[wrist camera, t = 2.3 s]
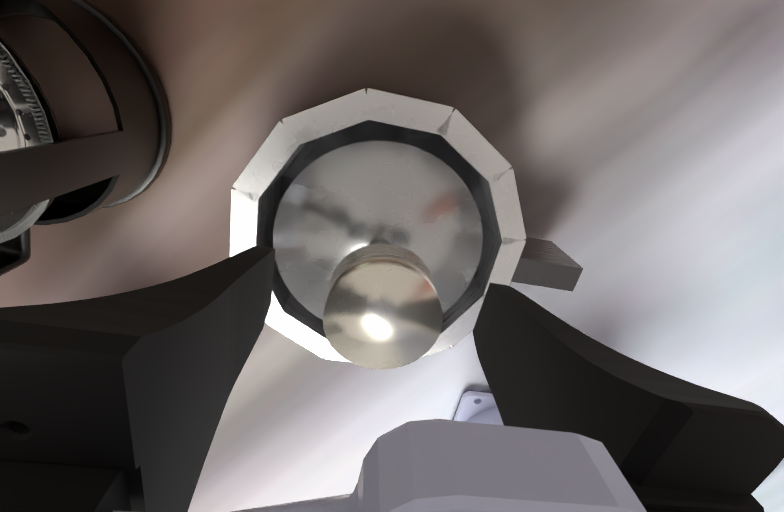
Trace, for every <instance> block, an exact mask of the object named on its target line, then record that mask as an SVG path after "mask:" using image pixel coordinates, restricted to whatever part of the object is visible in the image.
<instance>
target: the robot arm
mask: <svg viewBox="0 0 784 512" xmlns="http://www.w3.org/2000/svg"><path fill="white" fill-rule="evenodd" d="M274 261H275V249H274V248H267V247H261V246H253V247H251V248H248V249H246V250H244V251H242V252H240V253H238V254H236V255H234V256H231V257H229V258H227V259H225V260H223V261H221V262H218V263H216V264H214V265H212V266H209V267H207V268H204V269H202V270H199V271H197V272H194V273H192V274H189V275H187V276H184V277H181V278H178V279H175V280H172V281H169V282H165V283H162V284H158V285H155V286H151V287H147V288H143V289H138V290H134V291H129V292H124V293H120V294H115V295H110V296H104V297H98V298H92V299H85V300H78V301H70V302H62V303H53V304H42V305H29V306H16V307H4V308H0V512H187V511H188V508H189V505H190V502H191V499H192V497H193V494H194V491H195V488H196V485H197V482H198V479H199V476H200V473H201V470H202V468H203V465H204V462H205V459H206V456H207V453H208V451H209V448H210V445H211V442H212V440H213V437H214V434H215V431H216V429H217V426H218V423H219V421H220V418H221V415H222V413H223V410H224V407H225V405H226V402H227V400H228V397H229V395H230V393H231V390H232V388H233V386H234V384H235V382H236V380H237V378H238V376H239V374H240V372H241V370H242V368H243V366H244V364H245V362H246V360H247V358H248V357H249V355H250V353H251V351H252V349H253V347H254V345H255V343H256V341H257V339H258V337H259V335H260V333H261V331H262V329H263V326H264V323H265V320H266V318H267V315H268V311H269V308H270V305H271V299H272V287H273V274H274ZM473 336H474V341H475V346H476V350H477V354H478V358H479V360H480V363H481V366H482V369H483V371H484V374H485V377H486V379H487V382H488V384H489V387H490V389H491V392H492V393H483V392H475V391H468V392H465V393H464V394H463V396H462V398H461V401H460V404H459V406H458V409H457V412H456V414H455V417H454V420H444V419H433V420H422V421H410V422H407V423H405V424H403V425H401V426H399V427H397V428H395V429H393V430H391V431H389V432H387V433H385V434H383V435H382V436H380V437H378V438H377V440H376V441H375V443H374V444H373V446H372V447H371V449H370V450H369V452H368V453H367V455H366V456H365V458H364V460H363V464H362V468H361V472H360V475H359V479H358V483H357V485H356V487H355V490H354V492H353V493H352V494H346V495H339V496H332V497H326V498H319V499H312V500H306V501H299V502H292V503H286V504H279V505H272V506H266V507H259V508H252V509H246V510H239V511H232V512H764V509H763V507H762V506H761V505H760V503H759V502H758V501H757V500H756V499H755V498H754V497H753V496H752V495H751V493H752V492H753V491H754V490H755V489H756V488H757V487H758V486H759V485H760V484H761V483H762V482H763V481H764V480H765V479H766V478H767V477H768V475H769V474H770V473H771V472H772V471H773V470H774V469H775V468H776V467H777V466H778V464H779V463H780V462H781V460H782V459H783V458H784V425H783V424H781V423H780V422H779V421H778V420H777V419H775V418H774V417H773V416H772V415H771V414H769V413H768V412H767V411H766V410H765V409H763V408H762V407H760V406H758V405H756V404H754V403H752V402H749V401H746V400H742V399H739V398H736V397H733V396H730V395H727V394H723V393H720V392H717V391H714V390H711V389H707V388H704V387H701V386H698V385H696V384H693V383H690V382H688V381H685V380H682V379H679V378H677V377H674V376H671V375H669V374H666V373H664V372H661V371H659V370H656V369H654V368H652V367H649V366H647V365H645V364H643V363H640V362H638V361H636V360H634V359H631V358H629V357H627V356H625V355H623V354H621V353H619V352H617V351H615V350H613V349H611V348H609V347H607V346H605V345H603V344H601V343H599V342H598V341H596V340H594V339H592V338H590V337H589V336H587V335H585V334H583V333H582V332H580V331H578V330H577V329H575V328H574V327H572V326H570V325H569V324H567V323H565V322H564V321H562V320H561V319H559V318H558V317H556V316H555V315H553V314H552V313H550V312H549V311H547V310H546V309H544V308H543V307H541V306H540V305H538V304H537V303H535V302H534V301H532V300H531V299H530V298H528V297H527V296H525V295H523V294H522V293H520V292H519V291H517V290H515V289H514V288H512V287H510V286H508V285H503V284H496V283H490V284H489V287H488V289H487V292H486V295H485V298H484V301H483V303H482V306H481V309H480V312H479V315H478V317H477V320H476V323H475V326H474V329H473ZM478 398H479V399H478ZM475 399H477V400H475Z"/></svg>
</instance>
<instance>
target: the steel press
mask: <svg viewBox="0 0 784 512" xmlns="http://www.w3.org/2000/svg"><path fill="white" fill-rule="evenodd" d="M368 139H388V140H395V141H401V142H405V143H409V144H412V145H415V146H418V147H420V148H422V149H424V150H427V151H429V152H430V153H432V154H434V155H435V156H437V157H438V158H440V159H441V160H442V161H444V162H445V163H446V164H447V165H448V166H450V167H451V168H452V169H453V170H454V171H455V172H456V174H457V175H458V176H459V177H460V178H461V179H462V180H463V181H464V183H465V184H466V186H467V187H468V189H469V190H470V192H471V194H472V196H473V198H474V200H475V202H476V204H477V207H478V211H479V214H480V217H481V223H482V234H483V243H482V251H481V256H480V260H479V264H478V267H477V269H476V272H475V274H474V277H473V279H472V280H471V282H470V284H469V286H468V287H467V289H466V290H465V291H464V293H463V294H462V295H461V297H460V298H459V299H458V300H457V301H456V302H455V303H454V304H453V305H452V306H451V307H450V308H448V309H447V310H446V311H445V312H444V313H443V324H442V329H441V332H440V335H439V337H438V339H437V341H436V342H435V344H434V345H433V346H432V348H431V349H430V350H429V351H428V352H427V353H426V354H424V355H423V356H426V355H430V354H433V353H436V352H440V351H443V350H446V349H450V348H451V346H452V347H454V346H455V345H456V344H457V343H458V342H459V341H461V340H462V339H463V338H464V337H465V336H466V335H467V334H469V333H470V332H471V331H472V330H473V329H474V326H475V323H476V320H477V317H478V315H479V312H480V309H481V306H482V303H483V301H484V298H485V295H486V292H487V289H488V287H489V284H490V283H496V284H503V285H508V286H509V285H510V282H511V281H512V282H518V283H525V284H531V285H537V286H543V287H550V288H556V289H562V290H568V291H573V289H574V287H575V285H576V283H577V281H578V279H579V276H580V274H581V272H582V270H583V268H582V267H581V266H580V265H578V264H577V263H576V262H575V261H574V260H573V259H571V258H570V257H569V256H568V255H567V254H566V253H564V252H563V251H562V250H561V249H560V248H559V247H558V246H556V245H555V244H554V243H553V242H552V241H546V240H541V239H535V238H530V237H526V234H525V229H524V223H523V218H522V213H521V207H520V202H519V197H518V192H517V186H516V181H515V176H514V170H513V168H511V165H510V164H509V163H508V162H507V161H506V159H505V158H504V157H503V156H502V155H501V154H500V153H499V152H498V151H497V150H496V149H495V148H494V147H493V146H492V145H491V144H490V143H489V142H488V141H487V140H486V139H485V138H484V137H483V136H482V135H481V134H480V133H479V132H478V131H477V130H476V129H475V128H474V127H473V126H472V125H471V124H470V123H469V122H468V121H467V119H466V118H465V117H464V116H463V115H462V114H461V113H460V112H459V111H458V110H457V109H455V108H453V107H451V106H447V105H443V104H439V103H436V102H431V101H427V100H422V99H418V98H413V97H409V96H404V95H400V94H395V93H391V92H386V91H382V90H377V89H373V88H368V89H367V90H366V88H364V89H361V90H358V91H356V92H353V93H350V94H347V95H345V96H342V97H339V98H337V99H334V100H331V101H329V102H326V103H323V104H321V105H318V106H315V107H312V108H310V109H307V110H304V111H302V112H299V113H296V114H294V115H291V116H289V117H286V118H283V119H282V120H281V121H279V122H278V124H277V125H276V126H275V128H274V129H273V131H272V132H271V133H270V135H269V136H268V138H267V139H266V140H265V142H264V143H263V145H262V146H261V147H260V149H259V150H258V151H257V153H256V154H255V156H254V157H253V158H252V160H251V161H250V163H249V164H248V165H247V167H246V168H245V170H244V171H243V172H242V174H241V175H240V176H239V178H238V179H237V181H236V182H235V183H234V185H233V186H232V187H234V188H232V189H231V231H230V257H231V256H234V255H236V254H238V253H240V252H242V251H244V250H246V249H248V248H251V247H253V246H261V247H267V248H273V229H274V222H275V217H276V214H277V211H278V207H279V205H280V203H281V200H282V198H283V196H284V194H285V192H286V191H287V189H288V188H289V186H290V185H291V183H292V182H293V181H294V179H295V178H296V177H297V176H298V175H299V174H300V173H301V172H302V170H303V169H304V168H305V167H306V166H308V165H309V164H310V163H311V162H312V161H314V160H315V159H316V158H318V157H319V156H321V155H323V154H324V153H326V152H328V151H330V150H332V149H334V148H336V147H339V146H341V145H344V144H348V143H351V142H355V141H361V140H368ZM267 321H268V322H267ZM265 322H267V324H268V325H269V326H271V327H273V328H274V329H276V330H277V331H279V332H281V333H282V334H284V335H286V336H287V337H289V338H291V339H292V340H294V341H295V342H297V343H299V344H300V345H302V346H304V347H305V348H307V349H308V350H310V351H312V352H313V353H315V354H317V355H318V356H320V357H321V358H323V357H324V356H325V358H324V359H331V360H339V361H347V360H346V359H344V358H343V357H341V356H340V355H339V354H338V353H337V352H336V351H335V350H334V349H333V348H332V346H331V345H330V343H329V342H328V340H327V338H326V335H325V332H324V328H323V320H322V319H320V318H318V317H316V316H315V315H314V314H312V313H311V312H310V311H308V310H307V309H306V308H305V307H304V306H303V305H302V304H301V303H300V302H299V301H298V300H297V299H296V298H295V297H294V296H293V294H292V293H291V292H290V290H289V289H288V287H287V286H286V284H285V282H284V281H283V279H282V276H281V274H280V272H279V270H278V266H277V263H276V260H275V261H274V274H273V287H272V299H271V305H270V308H269V311H268V315H267V318H266V320H265ZM450 345H451V346H450ZM423 356H422V357H423ZM347 362H349V361H347Z"/></svg>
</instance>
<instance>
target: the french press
mask: <svg viewBox="0 0 784 512" xmlns="http://www.w3.org/2000/svg"><path fill="white" fill-rule="evenodd" d="M16 15H31V16H38V17H42V18H45V19H49V20H52V21H54V22H56V23H57V24H58V25H59V26H60V27H61V28H62V29H63V30H65V31H66V32H67V33H68V34H69V36H70V37H71V38H72V39H73V40H74V42H75V43H76V44H77V45H78V46H79V48H80V49H81V50H82V51H83V52H84V54H85V55H86V56H87V57H88V59H89V61H90V62H91V64H92V66H93V67H94V69H95V70H96V72H97V74H98V75H99V77H100V79H101V80H102V82H103V84H104V86H105V89H106V91H107V94H108V96H109V98H110V101H111V103H112V105H113V109H114V113H115V117H116V122H117V126H118V131H112V132H106V133H101V134H95V135H90V136H84V137H79V138H73V139H68V140H62V137H61V133H60V129H59V126H58V124H57V121H56V118H55V115H54V113H53V110H52V108H51V106H50V104H49V102H48V100H47V98H46V96H45V95H44V93H43V91H42V89H41V87H40V85H39V83H38V82H37V80H36V79H35V77H34V76H33V74H32V73H31V72H30V70H29V69H28V67H27V66H26V64H25V63H24V61H23V60H22V58H21V57H20V56H19V54H18V53H17V52H16V51H15V50H14V49H13V48H12V47H11V46H10V44H9V43H8V42H7V41H6V40H5V39H4V38H3V37H2V36H1V35H0V276H1V275H3V274H5V273H7V272H9V271H10V270H12V269H14V268H16V267H18V266H20V265H22V264H24V263H25V262H27V261H28V260H29V258H30V254H31V243H30V227H31V226H32V225H33V224H34V225H49V224H56V223H63V222H68V221H71V220H73V219H76V218H79V217H82V216H84V215H87V214H89V213H91V212H93V211H95V210H98V209H100V208H105V207H112V206H116V205H118V204H121V203H124V202H127V201H129V200H131V199H133V198H135V197H136V196H138V195H139V194H141V193H142V192H144V191H145V190H147V189H148V188H149V187H150V185H151V184H152V183H153V182H154V181H155V180H156V179H157V178H158V176H159V174H160V172H161V170H162V168H163V166H164V165H165V163H166V160H167V156H168V152H169V148H170V144H171V121H170V115H169V109H168V103H167V100H166V97H165V95H164V92H163V89H162V86H161V84H160V81H159V79H158V77H157V75H156V73H155V72H154V70H153V68H152V66H151V64H150V63H149V61H148V59H147V57H146V56H145V55H144V54H143V52H142V51H141V50H140V48H139V47H138V46H137V44H136V43H135V42H134V41H133V39H132V38H131V37H130V36H129V35H128V34H127V33H126V32H125V31H124V30H123V29H122V28H121V27H120V26H119V25H118V24H117V23H116V22H115V21H114V20H113V19H112V18H111V17H110V16H108V15H107V14H105V13H104V12H103V11H101V10H100V9H98V8H97V7H96V6H94V5H93V4H91V3H90V2H89V1H87V0H0V19H2V18H4V17H9V16H16Z"/></svg>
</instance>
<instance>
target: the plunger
mask: <svg viewBox="0 0 784 512" xmlns="http://www.w3.org/2000/svg"><path fill="white" fill-rule="evenodd" d="M482 243H483V234H482V223H481V217H480V214H479V211H478V207H477V204H476V202H475V200H474V198H473V196H472V194H471V192H470V190H469V189H468V187H467V186H466V184H465V183H464V181H463V180H462V179H461V178H460V177H459V176H458V175H457V174H456V172H455V171H454V170H453V169H452V168H451V167H450V166H448V165H447V164H446V163H445V162H444V161H442V160H441V159H440V158H438V157H437V156H435V155H434V154H432V153H430V152H429V151H427V150H424V149H422V148H420V147H418V146H415V145H412V144H409V143H405V142H401V141H395V140H388V139H368V140H361V141H355V142H351V143H348V144H344V145H341V146H339V147H336V148H334V149H332V150H330V151H328V152H326V153H324V154H323V155H321V156H319V157H318V158H316V159H315V160H314V161H312V162H311V163H310V164H309V165H308V166H306V167H305V168H304V169H303V170H302V172H301V173H300V174H299V175H298V176H297V177H296V178H295V179H294V181H293V182H292V183H291V185H290V186H289V188H288V189H287V191H286V192H285V194H284V196H283V198H282V200H281V203H280V205H279V207H278V211H277V214H276V217H275V222H274V229H273V248H274V249H275V260H276V263H277V266H278V270H279V272H280V274H281V276H282V279H283V281H284V282H285V284H286V286H287V287H288V289H289V290H290V292H291V293H292V294H293V296H294V297H295V298H296V299H297V300H298V301H299V302H300V303H301V304H302V305H303V306H304V307H305V308H306V309H307V310H308V311H310V312H311V313H312V314H314V315H315V316H316V317H318V318H320V319H322V320H323V328H324V332H325V335H326V338H327V340H328V342H329V343H330V345H331V346H332V348H333V349H334V350H335V351H336V352H337V353H338V354H339V355H340V356H341V357H343V358H344V359H346V360H347V361H349V362H351V363H353V364H356V365H358V366H361V367H365V368H370V369H392V368H397V367H402V366H404V365H407V364H410V363H412V362H414V361H416V360H417V359H419V358H421V357H422V356H423V355H424V354H426V353H427V352H428V351H429V350H430V349H431V348H432V346H433V345H434V344H435V342H436V341H437V339H438V337H439V335H440V332H441V329H442V324H443V313H444V312H445V311H446V310H447V309H448V308H450V307H451V306H452V305H453V304H454V303H455V302H456V301H457V300H458V299H459V298H460V297H461V295H462V294H463V293H464V291H465V290H466V289H467V287H468V286H469V284H470V282H471V280H472V279H473V277H474V274H475V272H476V269H477V267H478V264H479V260H480V256H481V251H482Z"/></svg>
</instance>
